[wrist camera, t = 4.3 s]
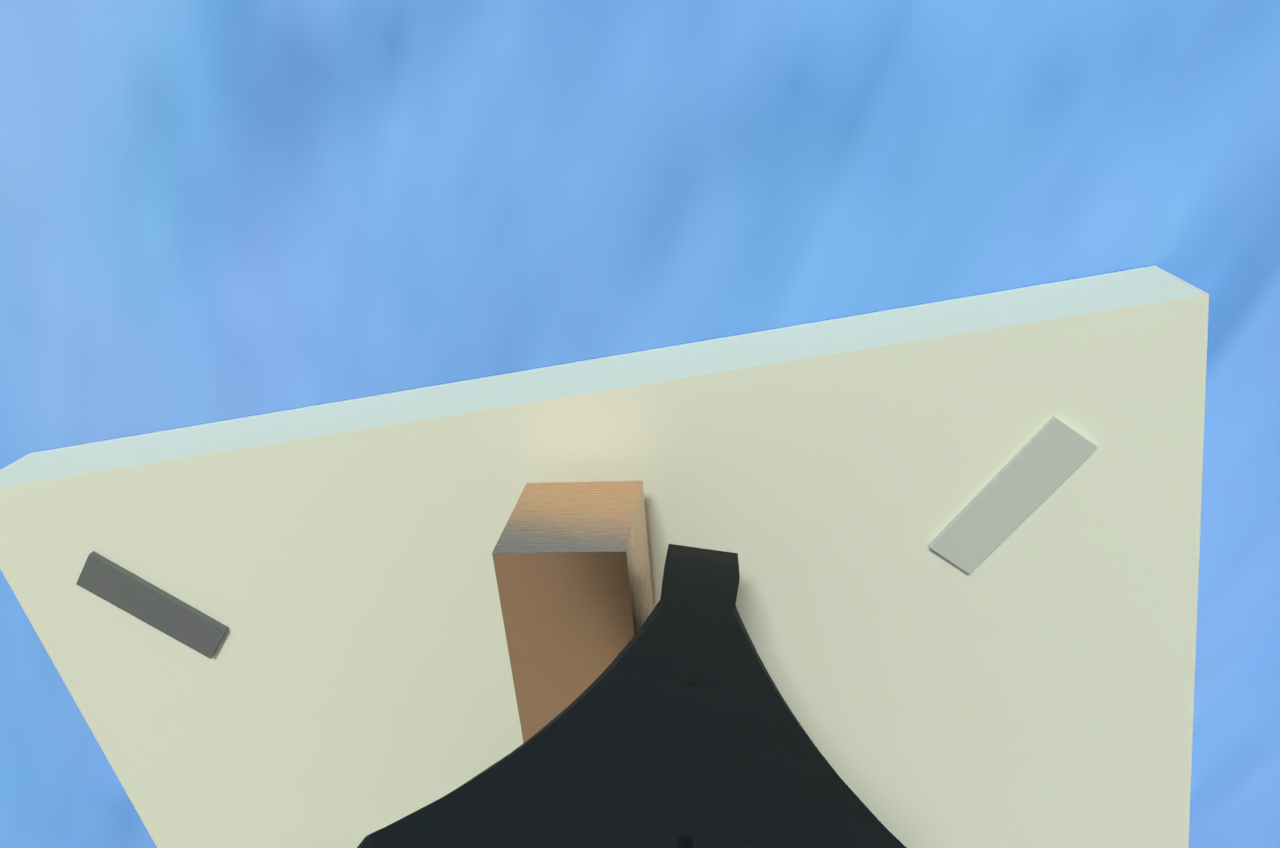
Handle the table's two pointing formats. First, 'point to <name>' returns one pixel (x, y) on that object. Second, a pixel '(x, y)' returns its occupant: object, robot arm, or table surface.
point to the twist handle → (570, 588)
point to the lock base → (675, 514)
